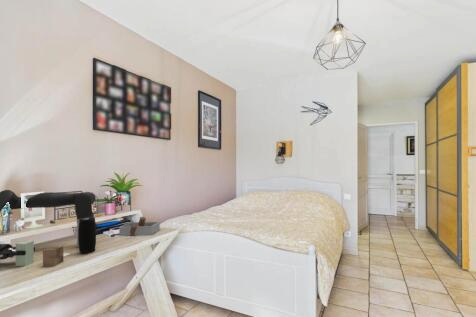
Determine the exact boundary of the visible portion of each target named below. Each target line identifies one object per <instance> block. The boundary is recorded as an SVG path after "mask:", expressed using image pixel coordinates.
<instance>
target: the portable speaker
mask: <svg viewBox="0 0 476 317" xmlns="http://www.w3.org/2000/svg"><path fill="white" fill-rule="evenodd" d="M78 243H79V245H78V246H79V247H78V251H79V253H80V254H82V255H84V254H85V255H86V254H89V253H90V252H95V251H96V245H97V224H96V217H92V216H89V217H85V218H80V220H79V227H78Z"/></svg>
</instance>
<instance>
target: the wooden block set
mask: <svg viewBox="0 0 476 317" xmlns="http://www.w3.org/2000/svg"><path fill="white" fill-rule="evenodd" d="M138 222H139V224H138V225H137V224H135V225H133V226H131V230H130V234H131V235H130V236H135V235H134V233H135V231H136V228H137V227H141V226H144V224H145V222H146V217H144V216H140V217H139V220H138ZM148 226H150V225H148Z"/></svg>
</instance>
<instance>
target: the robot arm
mask: <svg viewBox="0 0 476 317" xmlns="http://www.w3.org/2000/svg"><path fill="white" fill-rule="evenodd" d="M30 197H31V198H29V199H28V201H27V203H26V207H27V208H26V209H32V208H33V209H35V208H36V209H37V208H41V209H43V208H44V209H45V208H58V207H59V208H60V207H65V206H74V211H75V216H76V247H77V248H79V246H78V245H79V243H78V227H79V220H80V218H85V217H89V216H92V217H94V216H95V214H94V211H93V207H92V206H93V204H94V203H95V201H96V199H97V198H96V195H95V194H94V193H92V192H90V191H85V192H76V193H75V192H74V193H72V192H71V193H70V192H69V193H68V192H53V191H52V192H40V193H37V194H35V195H33V196H30ZM7 202H9V204H10V208H11V210H19V209H20V210H22V208H21V196H18V195H17V194H16V193H15V192H14V191H13V190H10V189H4V190H1V191H0V211H2V210H3V207H4V206H5V205H6V203H7ZM11 210H10V211H11ZM34 252H36V247H35V246H34ZM20 255H26V251H16V245H15V246H13V245H12V244H11V243H0V260H7V259H8V258H9V259H11V258H13V257H16V256H20Z"/></svg>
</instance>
